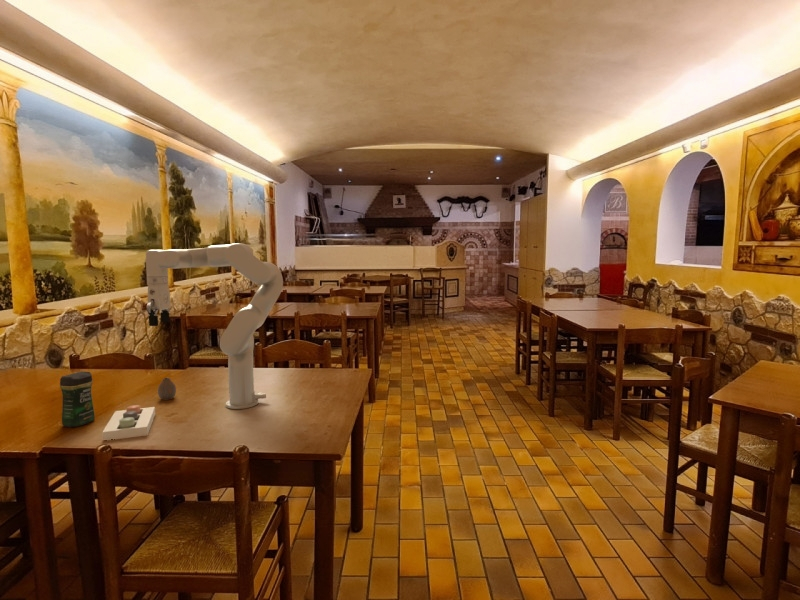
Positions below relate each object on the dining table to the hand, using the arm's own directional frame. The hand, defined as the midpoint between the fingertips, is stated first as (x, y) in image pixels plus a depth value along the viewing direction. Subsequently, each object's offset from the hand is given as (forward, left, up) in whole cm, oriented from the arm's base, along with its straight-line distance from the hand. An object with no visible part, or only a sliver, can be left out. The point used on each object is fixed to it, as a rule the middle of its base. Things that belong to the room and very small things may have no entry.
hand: (159, 324), depth 184 cm
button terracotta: (+8, +15, -31) cm, 36 cm away
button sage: (+8, +29, -31) cm, 43 cm away
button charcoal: (+8, +22, -31) cm, 39 cm away
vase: (-1, -9, -34) cm, 35 cm away
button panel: (+8, +22, -33) cm, 41 cm away
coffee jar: (+26, +11, -34) cm, 44 cm away
